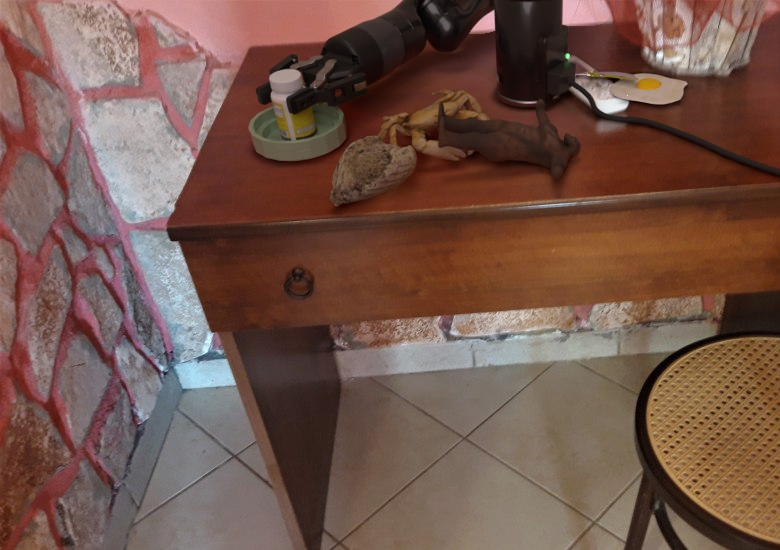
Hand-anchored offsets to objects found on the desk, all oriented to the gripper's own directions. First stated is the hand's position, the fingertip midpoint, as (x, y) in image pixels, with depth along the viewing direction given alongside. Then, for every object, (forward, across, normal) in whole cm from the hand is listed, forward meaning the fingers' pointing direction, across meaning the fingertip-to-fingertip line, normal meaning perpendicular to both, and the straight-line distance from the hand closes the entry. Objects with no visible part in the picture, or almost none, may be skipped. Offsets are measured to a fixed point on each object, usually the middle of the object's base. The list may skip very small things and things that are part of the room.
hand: (274, 101), depth 97 cm
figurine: (-6, -21, -1) cm, 22 cm away
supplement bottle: (-3, 0, -6) cm, 7 cm away
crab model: (-12, -13, -8) cm, 20 cm away
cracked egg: (-40, -33, -7) cm, 52 cm away
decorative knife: (-42, -25, -6) cm, 50 cm away
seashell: (+2, -13, -6) cm, 15 cm away
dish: (-3, 0, -6) cm, 7 cm away
